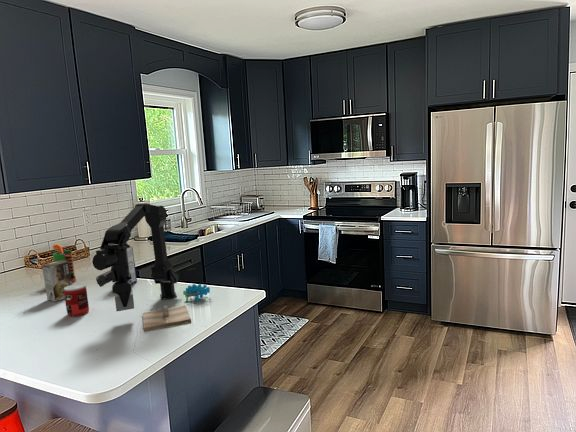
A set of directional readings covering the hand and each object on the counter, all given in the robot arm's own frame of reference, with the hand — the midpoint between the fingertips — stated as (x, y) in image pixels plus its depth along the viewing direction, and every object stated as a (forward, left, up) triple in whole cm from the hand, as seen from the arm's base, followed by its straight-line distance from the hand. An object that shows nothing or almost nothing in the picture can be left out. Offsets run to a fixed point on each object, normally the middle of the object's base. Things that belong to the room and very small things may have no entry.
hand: (125, 304), depth 157 cm
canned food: (-20, -18, -7) cm, 28 cm away
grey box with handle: (0, 0, -1) cm, 1 cm away
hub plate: (+5, +14, -7) cm, 16 cm away
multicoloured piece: (-74, -29, -7) cm, 80 cm away
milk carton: (-53, 0, -7) cm, 54 cm away
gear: (-12, +27, -7) cm, 31 cm away
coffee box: (-47, -28, -7) cm, 55 cm away
